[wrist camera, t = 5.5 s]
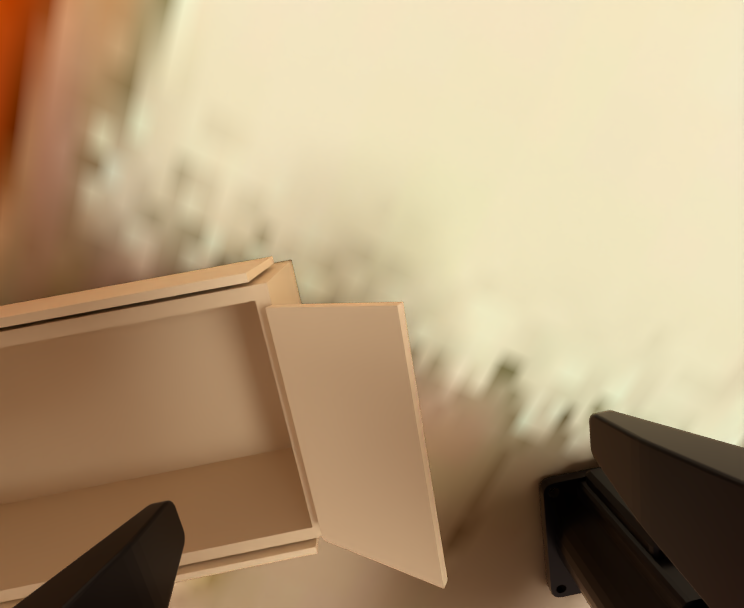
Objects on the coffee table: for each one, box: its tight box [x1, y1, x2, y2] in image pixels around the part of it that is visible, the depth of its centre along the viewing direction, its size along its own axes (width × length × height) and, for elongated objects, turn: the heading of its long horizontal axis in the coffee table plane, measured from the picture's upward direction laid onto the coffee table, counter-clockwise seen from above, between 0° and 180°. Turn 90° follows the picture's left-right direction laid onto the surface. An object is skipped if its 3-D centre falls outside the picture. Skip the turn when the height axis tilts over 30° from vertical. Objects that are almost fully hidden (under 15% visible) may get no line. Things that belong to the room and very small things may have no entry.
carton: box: [0, 256, 322, 608], centre depth 13 cm, size 9×16×5 cm, turn 100°
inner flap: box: [265, 302, 448, 589], centre depth 10 cm, size 7×4×1 cm
